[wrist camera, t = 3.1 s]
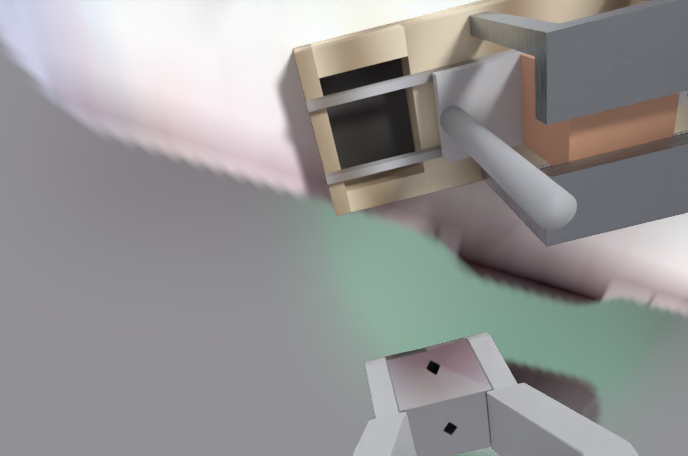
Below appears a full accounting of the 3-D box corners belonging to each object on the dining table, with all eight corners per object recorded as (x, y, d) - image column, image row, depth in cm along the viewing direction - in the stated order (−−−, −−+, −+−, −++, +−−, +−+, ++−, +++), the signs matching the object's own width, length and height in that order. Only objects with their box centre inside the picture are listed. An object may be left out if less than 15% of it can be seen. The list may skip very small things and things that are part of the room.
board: (825, -87, 26) (888, -94, 23) (781, 89, 31) (828, 100, 28) (293, 47, 26) (293, 56, 24) (333, 199, 31) (336, 220, 29)
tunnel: (636, -27, 24) (790, -28, 17) (622, 142, 29) (736, 200, 21) (469, 15, 24) (546, 32, 17) (481, 176, 29) (546, 246, 21)
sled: (690, 8, 24) (999, 32, 14) (677, 100, 27) (930, 182, 16) (430, 73, 25) (534, 146, 14) (440, 158, 27) (536, 275, 16)
